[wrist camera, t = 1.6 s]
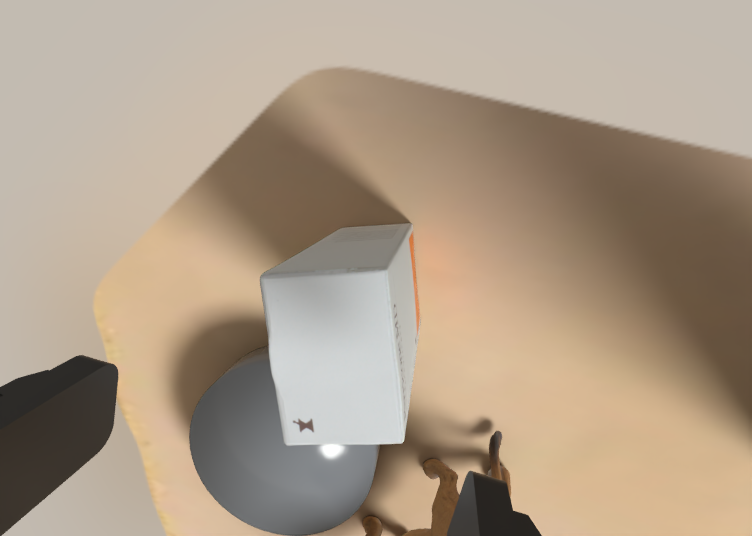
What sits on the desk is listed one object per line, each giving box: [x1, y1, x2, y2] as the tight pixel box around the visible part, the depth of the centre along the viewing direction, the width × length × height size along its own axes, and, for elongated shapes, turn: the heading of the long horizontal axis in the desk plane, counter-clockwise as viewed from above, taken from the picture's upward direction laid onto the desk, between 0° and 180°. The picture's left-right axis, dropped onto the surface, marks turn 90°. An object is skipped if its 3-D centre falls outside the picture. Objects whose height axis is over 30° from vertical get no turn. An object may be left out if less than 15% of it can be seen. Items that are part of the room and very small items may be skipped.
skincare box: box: [260, 223, 421, 446], centre depth 20 cm, size 6×4×12 cm
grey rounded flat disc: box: [189, 346, 381, 536], centre depth 27 cm, size 11×11×3 cm
